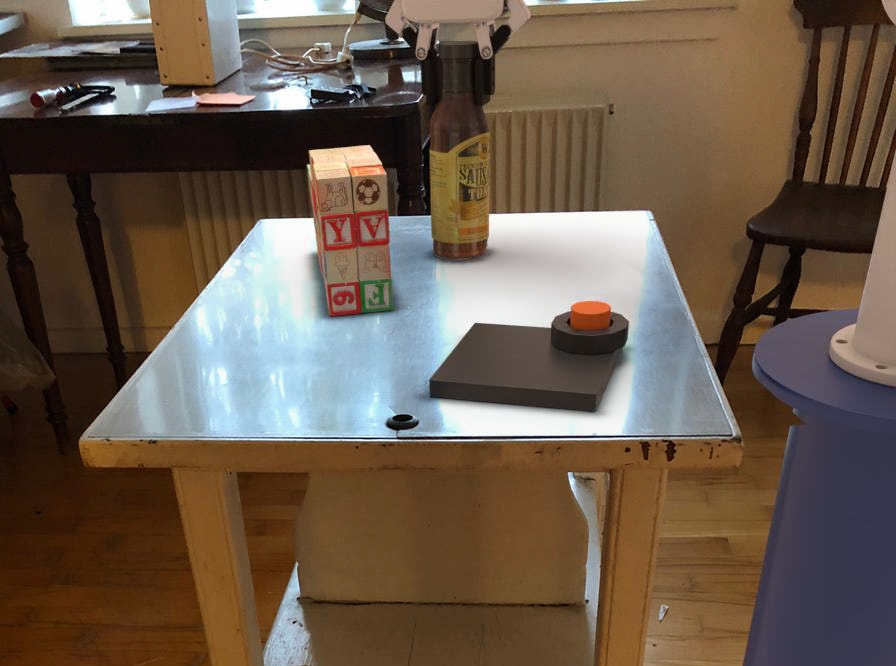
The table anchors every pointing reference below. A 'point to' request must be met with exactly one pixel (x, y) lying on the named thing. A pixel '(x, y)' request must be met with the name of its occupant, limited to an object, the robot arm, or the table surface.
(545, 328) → the scale
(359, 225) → the stack of blocks
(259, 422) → the table surface
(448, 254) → the sauce bottle
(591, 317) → the button
